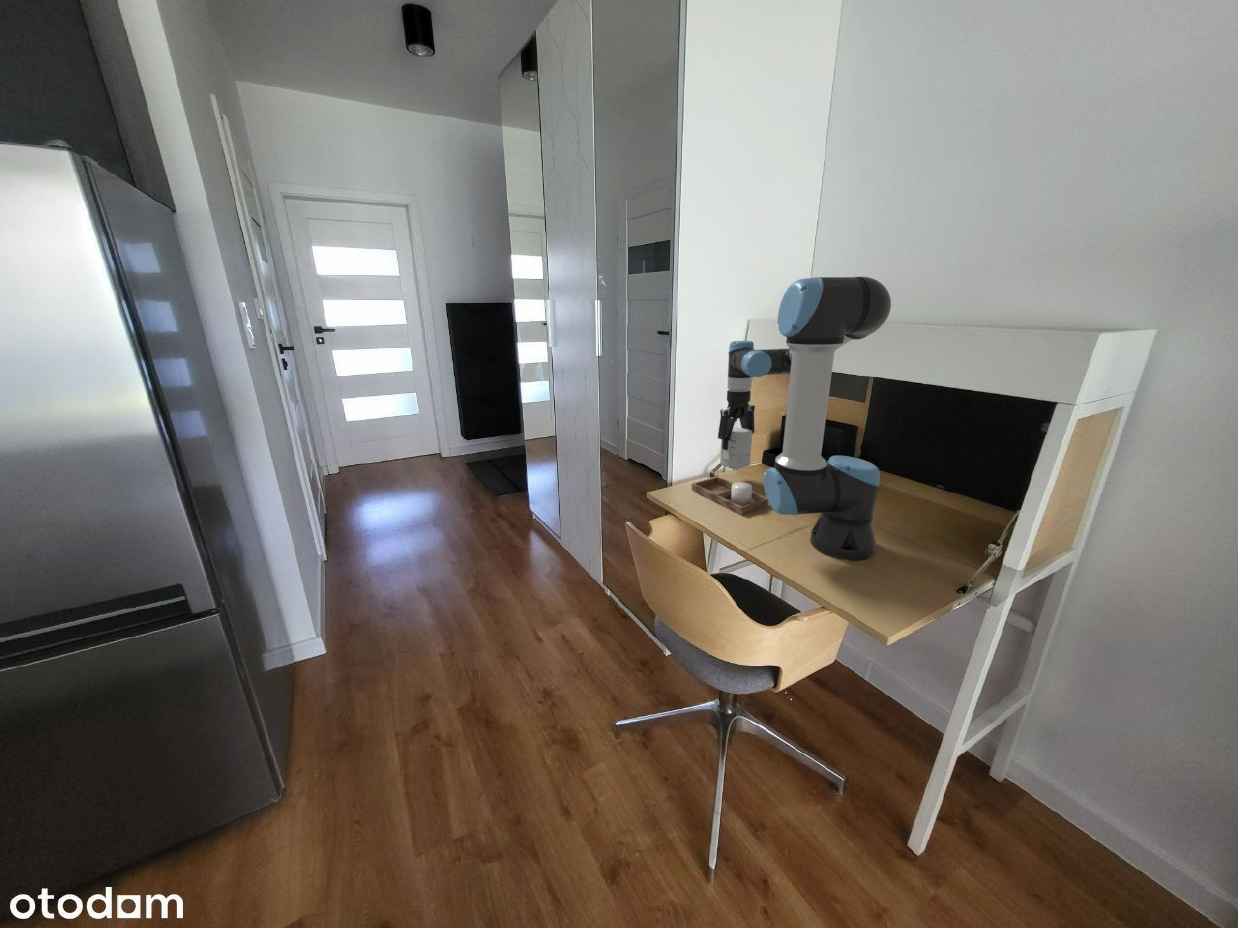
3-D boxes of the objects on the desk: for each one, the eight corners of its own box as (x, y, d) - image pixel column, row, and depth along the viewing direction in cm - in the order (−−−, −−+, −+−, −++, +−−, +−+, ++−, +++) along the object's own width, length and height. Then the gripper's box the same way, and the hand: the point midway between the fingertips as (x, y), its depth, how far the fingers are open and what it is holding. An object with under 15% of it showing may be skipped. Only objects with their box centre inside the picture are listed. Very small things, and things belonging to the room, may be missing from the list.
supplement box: (734, 460, 162) (736, 426, 158) (750, 466, 156) (753, 430, 152) (719, 464, 158) (721, 429, 154) (735, 470, 152) (737, 433, 148)
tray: (768, 507, 140) (768, 498, 139) (740, 517, 135) (741, 508, 134) (717, 484, 158) (717, 476, 157) (691, 492, 153) (691, 483, 152)
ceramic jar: (754, 504, 141) (756, 486, 139) (740, 509, 138) (742, 491, 136) (740, 498, 146) (741, 480, 144) (726, 502, 143) (727, 485, 141)
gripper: (752, 385, 157) (748, 448, 164) (707, 391, 147) (705, 459, 155) (769, 387, 151) (764, 453, 158) (724, 394, 141) (720, 464, 148)
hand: (735, 456), depth 156 cm, fingers closed on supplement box, 7 cm apart
